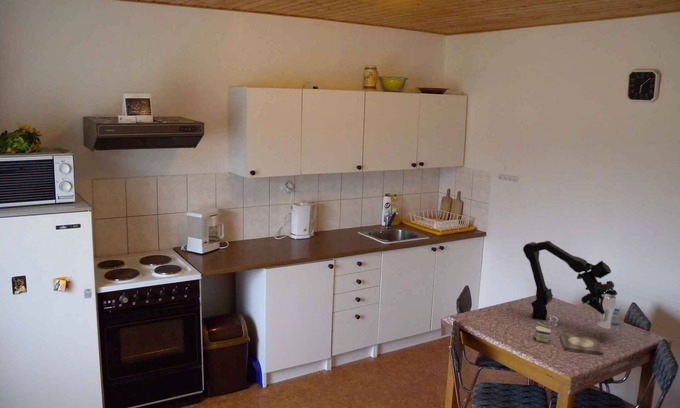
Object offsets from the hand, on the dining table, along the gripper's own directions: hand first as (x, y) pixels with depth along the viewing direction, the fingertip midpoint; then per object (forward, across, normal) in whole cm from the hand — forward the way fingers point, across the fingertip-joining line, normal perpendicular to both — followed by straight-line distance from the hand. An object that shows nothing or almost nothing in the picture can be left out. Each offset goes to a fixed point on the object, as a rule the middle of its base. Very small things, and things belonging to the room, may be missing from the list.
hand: (608, 313), depth 265 cm
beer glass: (+4, 0, +6) cm, 7 cm away
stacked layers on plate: (+2, -29, +18) cm, 34 cm away
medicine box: (-1, +22, +20) cm, 29 cm away
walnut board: (+10, -17, +9) cm, 21 cm away
